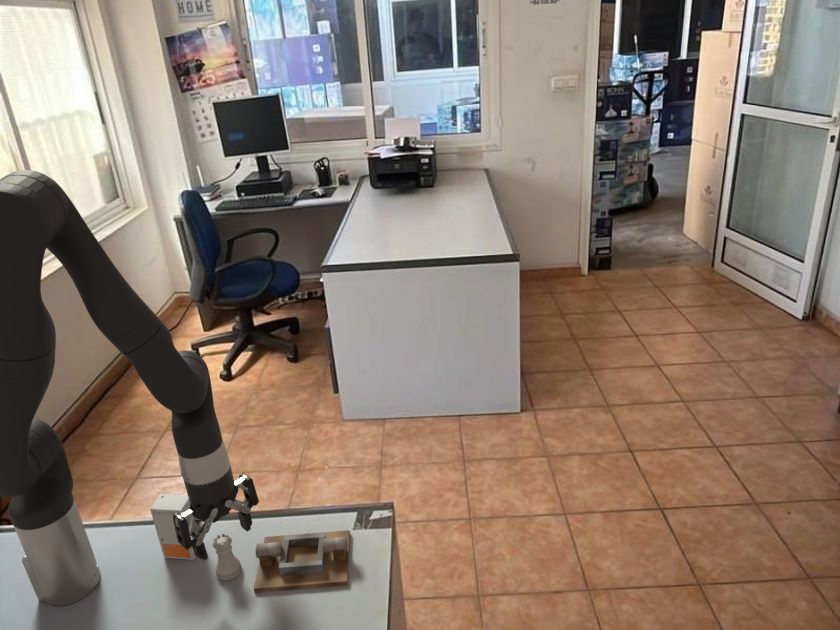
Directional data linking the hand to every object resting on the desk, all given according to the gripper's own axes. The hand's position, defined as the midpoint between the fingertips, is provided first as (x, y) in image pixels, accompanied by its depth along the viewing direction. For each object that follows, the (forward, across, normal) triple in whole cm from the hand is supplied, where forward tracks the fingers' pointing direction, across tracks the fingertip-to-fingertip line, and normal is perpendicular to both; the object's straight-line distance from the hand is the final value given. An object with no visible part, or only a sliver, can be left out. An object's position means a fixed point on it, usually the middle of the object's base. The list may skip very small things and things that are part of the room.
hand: (225, 542), depth 111 cm
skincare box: (+8, -3, +12) cm, 14 cm away
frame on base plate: (+8, +10, -8) cm, 15 cm away
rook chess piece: (+8, 0, +1) cm, 8 cm away
